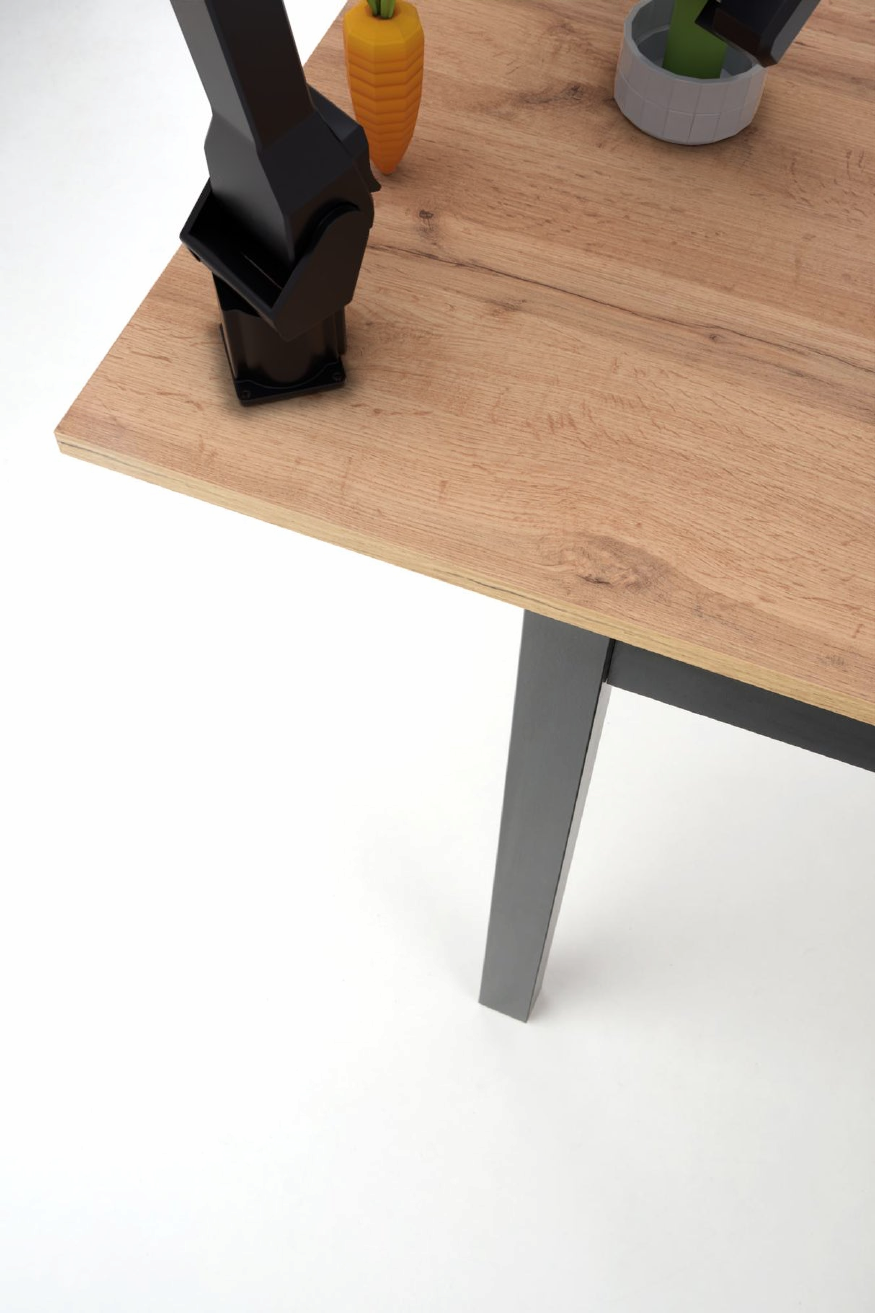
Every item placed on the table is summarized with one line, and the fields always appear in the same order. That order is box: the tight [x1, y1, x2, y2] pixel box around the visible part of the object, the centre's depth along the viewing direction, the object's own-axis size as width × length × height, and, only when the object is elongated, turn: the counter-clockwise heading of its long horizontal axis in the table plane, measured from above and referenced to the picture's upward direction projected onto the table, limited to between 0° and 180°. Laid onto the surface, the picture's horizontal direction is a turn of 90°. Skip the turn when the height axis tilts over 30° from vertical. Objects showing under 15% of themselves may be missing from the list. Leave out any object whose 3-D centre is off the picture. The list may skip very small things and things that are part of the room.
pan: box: [613, 0, 772, 146], centre depth 80 cm, size 10×10×5 cm
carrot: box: [341, 0, 425, 175], centre depth 71 cm, size 5×5×15 cm
